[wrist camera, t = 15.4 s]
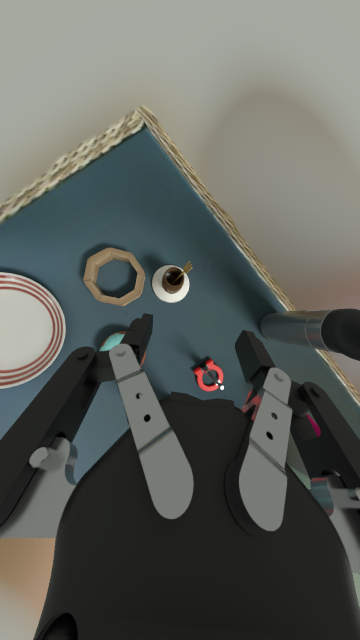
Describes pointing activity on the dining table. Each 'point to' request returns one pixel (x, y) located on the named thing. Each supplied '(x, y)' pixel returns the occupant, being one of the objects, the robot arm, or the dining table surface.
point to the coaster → (161, 292)
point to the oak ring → (100, 260)
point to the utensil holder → (174, 279)
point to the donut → (115, 342)
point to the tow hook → (206, 369)
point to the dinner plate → (27, 329)
